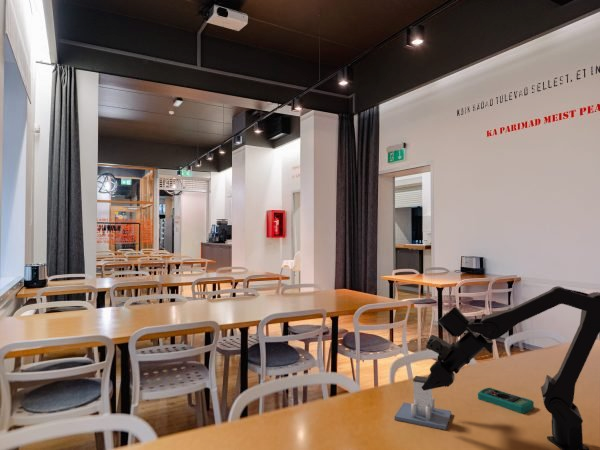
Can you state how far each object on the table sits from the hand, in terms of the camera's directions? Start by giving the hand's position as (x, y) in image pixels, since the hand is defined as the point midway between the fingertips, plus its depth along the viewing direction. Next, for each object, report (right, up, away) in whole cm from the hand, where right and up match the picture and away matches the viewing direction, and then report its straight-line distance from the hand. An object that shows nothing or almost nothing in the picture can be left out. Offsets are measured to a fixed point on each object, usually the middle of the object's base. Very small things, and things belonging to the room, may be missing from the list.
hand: (425, 383), depth 115 cm
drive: (-1, -9, 0) cm, 9 cm away
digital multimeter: (+28, -10, +9) cm, 31 cm away
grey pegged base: (-1, -10, 0) cm, 10 cm away
